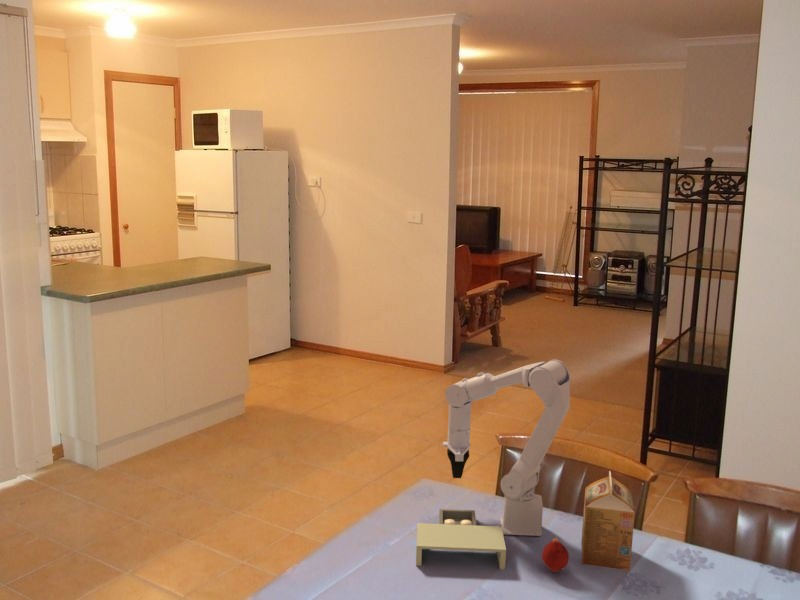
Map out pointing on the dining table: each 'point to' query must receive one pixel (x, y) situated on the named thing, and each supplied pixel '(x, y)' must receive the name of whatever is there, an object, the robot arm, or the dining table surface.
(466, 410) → the robot arm
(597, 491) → the milk carton
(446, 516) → the tray
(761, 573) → the dining table surface
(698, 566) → the dining table surface
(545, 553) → the onion
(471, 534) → the bench
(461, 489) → the dining table surface
